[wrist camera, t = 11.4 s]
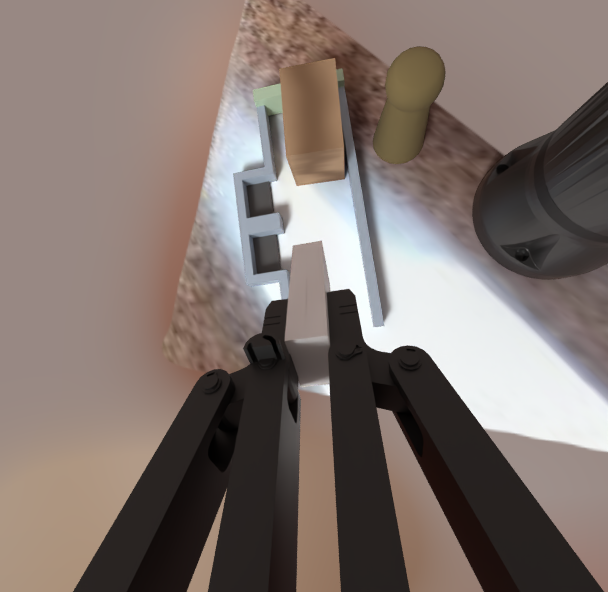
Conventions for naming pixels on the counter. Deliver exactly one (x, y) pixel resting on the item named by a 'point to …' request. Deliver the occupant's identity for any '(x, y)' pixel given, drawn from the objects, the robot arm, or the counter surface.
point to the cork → (408, 104)
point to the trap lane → (267, 225)
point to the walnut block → (312, 122)
